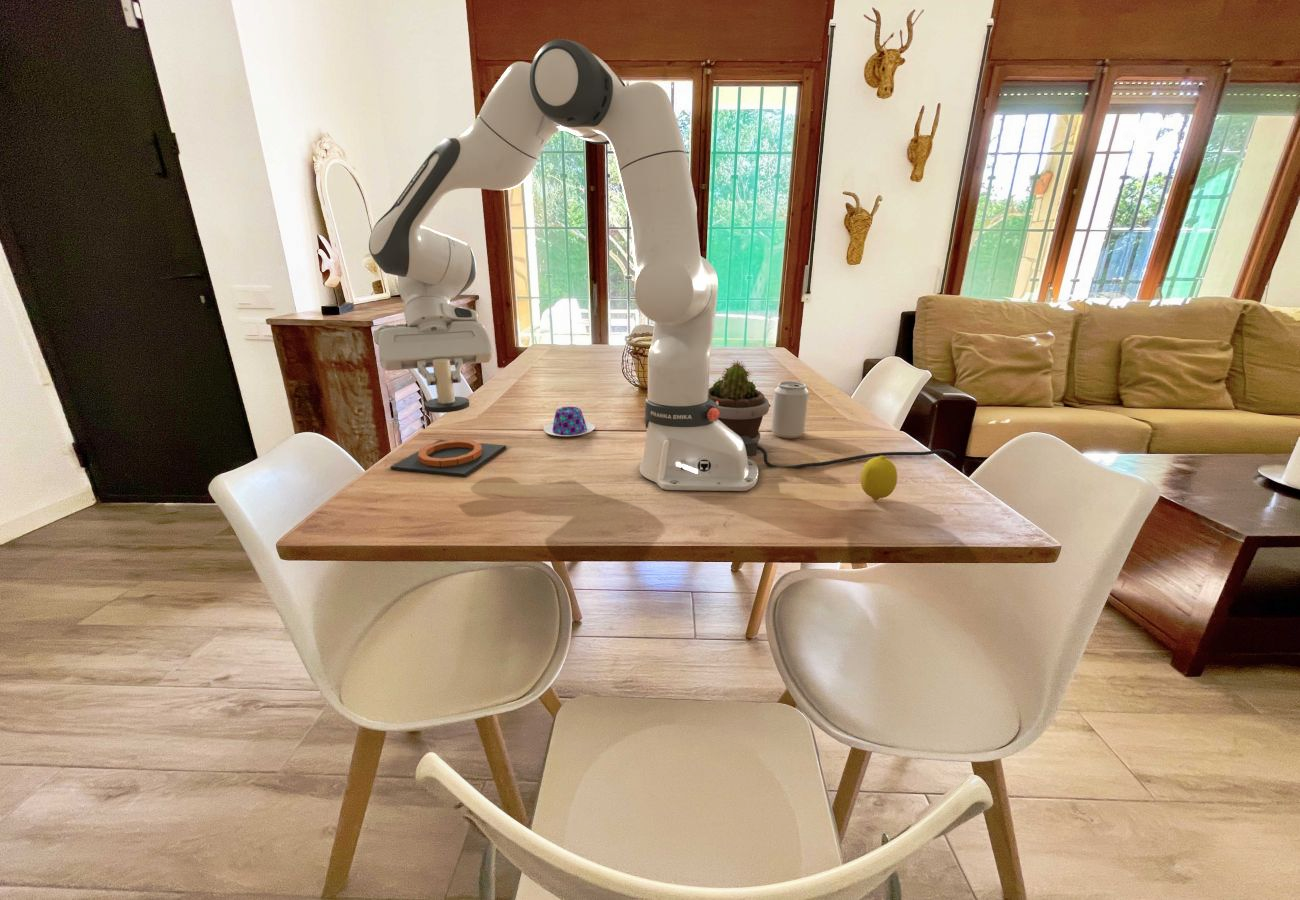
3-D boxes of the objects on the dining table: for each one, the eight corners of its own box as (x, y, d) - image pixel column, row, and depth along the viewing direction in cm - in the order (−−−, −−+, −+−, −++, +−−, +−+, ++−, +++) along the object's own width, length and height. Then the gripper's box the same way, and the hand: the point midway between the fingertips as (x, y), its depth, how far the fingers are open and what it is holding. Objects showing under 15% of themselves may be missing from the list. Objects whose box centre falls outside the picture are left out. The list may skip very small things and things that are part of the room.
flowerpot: (700, 432, 120) (703, 346, 113) (767, 437, 117) (774, 349, 110) (691, 454, 107) (694, 358, 100) (766, 460, 104) (775, 362, 97)
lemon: (890, 510, 83) (898, 464, 81) (854, 502, 86) (861, 457, 83) (895, 497, 88) (903, 453, 85) (861, 490, 91) (867, 447, 88)
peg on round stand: (477, 402, 101) (472, 357, 98) (454, 414, 94) (447, 365, 91) (441, 400, 103) (435, 355, 100) (415, 411, 96) (407, 362, 93)
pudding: (534, 436, 118) (532, 414, 116) (558, 421, 129) (556, 400, 127) (582, 441, 115) (581, 418, 113) (602, 425, 125) (602, 404, 124)
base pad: (506, 447, 111) (505, 440, 110) (464, 476, 96) (463, 467, 96) (440, 442, 114) (439, 434, 114) (390, 469, 100) (389, 460, 99)
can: (808, 432, 120) (813, 382, 116) (798, 441, 114) (803, 388, 110) (776, 427, 124) (781, 378, 120) (765, 436, 118) (770, 384, 114)
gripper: (369, 315, 94) (381, 378, 89) (484, 310, 103) (500, 367, 98) (373, 336, 99) (384, 397, 95) (482, 330, 108) (497, 385, 103)
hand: (444, 382), depth 96 cm, fingers closed on peg on round stand, 3 cm apart
